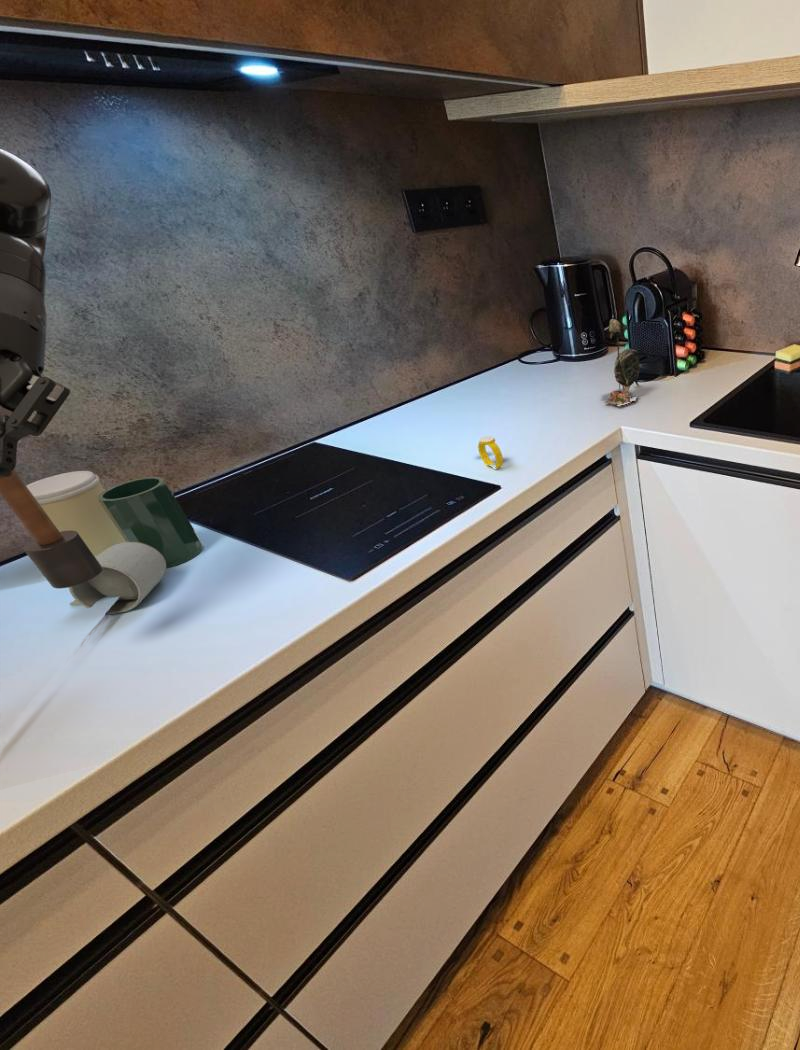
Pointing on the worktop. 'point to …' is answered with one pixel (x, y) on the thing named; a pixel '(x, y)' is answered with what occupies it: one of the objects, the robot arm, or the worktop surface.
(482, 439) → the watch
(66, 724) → the worktop surface
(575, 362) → the worktop surface
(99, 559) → the ceramic mug
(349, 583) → the worktop surface
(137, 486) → the green patterned cylindrical cup
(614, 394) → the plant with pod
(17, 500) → the mallet
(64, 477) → the coffee cup
